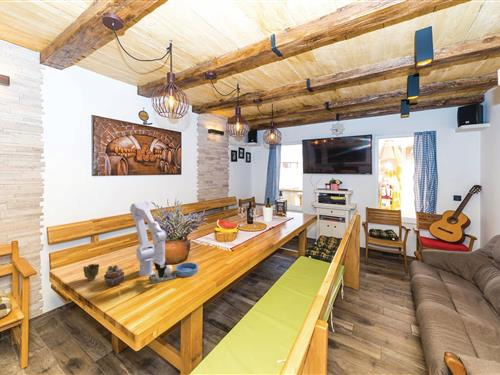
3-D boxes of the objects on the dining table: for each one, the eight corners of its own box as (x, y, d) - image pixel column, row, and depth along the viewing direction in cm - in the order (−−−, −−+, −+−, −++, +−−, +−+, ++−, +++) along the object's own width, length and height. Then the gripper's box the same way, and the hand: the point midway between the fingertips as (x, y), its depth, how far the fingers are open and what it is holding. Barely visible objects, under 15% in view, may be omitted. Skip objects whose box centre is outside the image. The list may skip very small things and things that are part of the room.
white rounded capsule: (154, 279, 129) (154, 269, 129) (162, 277, 132) (162, 268, 131) (156, 282, 125) (156, 272, 125) (164, 280, 128) (164, 271, 127)
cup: (94, 275, 132) (94, 262, 132) (102, 278, 129) (101, 265, 128) (80, 280, 126) (80, 267, 125) (88, 284, 122) (87, 270, 122)
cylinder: (163, 274, 135) (163, 265, 134) (171, 272, 137) (171, 264, 137) (165, 277, 131) (165, 268, 131) (172, 275, 134) (173, 267, 133)
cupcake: (126, 283, 124) (126, 266, 123) (106, 289, 117) (105, 271, 117) (121, 277, 131) (121, 261, 130) (102, 282, 124) (102, 265, 124)
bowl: (173, 270, 142) (173, 265, 142) (193, 265, 149) (193, 260, 149) (178, 279, 131) (179, 273, 130) (200, 274, 138) (201, 268, 138)
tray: (149, 277, 132) (149, 275, 132) (172, 272, 139) (172, 270, 139) (152, 284, 123) (152, 282, 123) (176, 279, 131) (176, 277, 130)
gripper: (150, 249, 131) (150, 271, 132) (154, 257, 119) (154, 282, 120) (162, 247, 135) (162, 269, 136) (168, 255, 123) (168, 279, 124)
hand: (159, 275), depth 128 cm, fingers open, 7 cm apart
